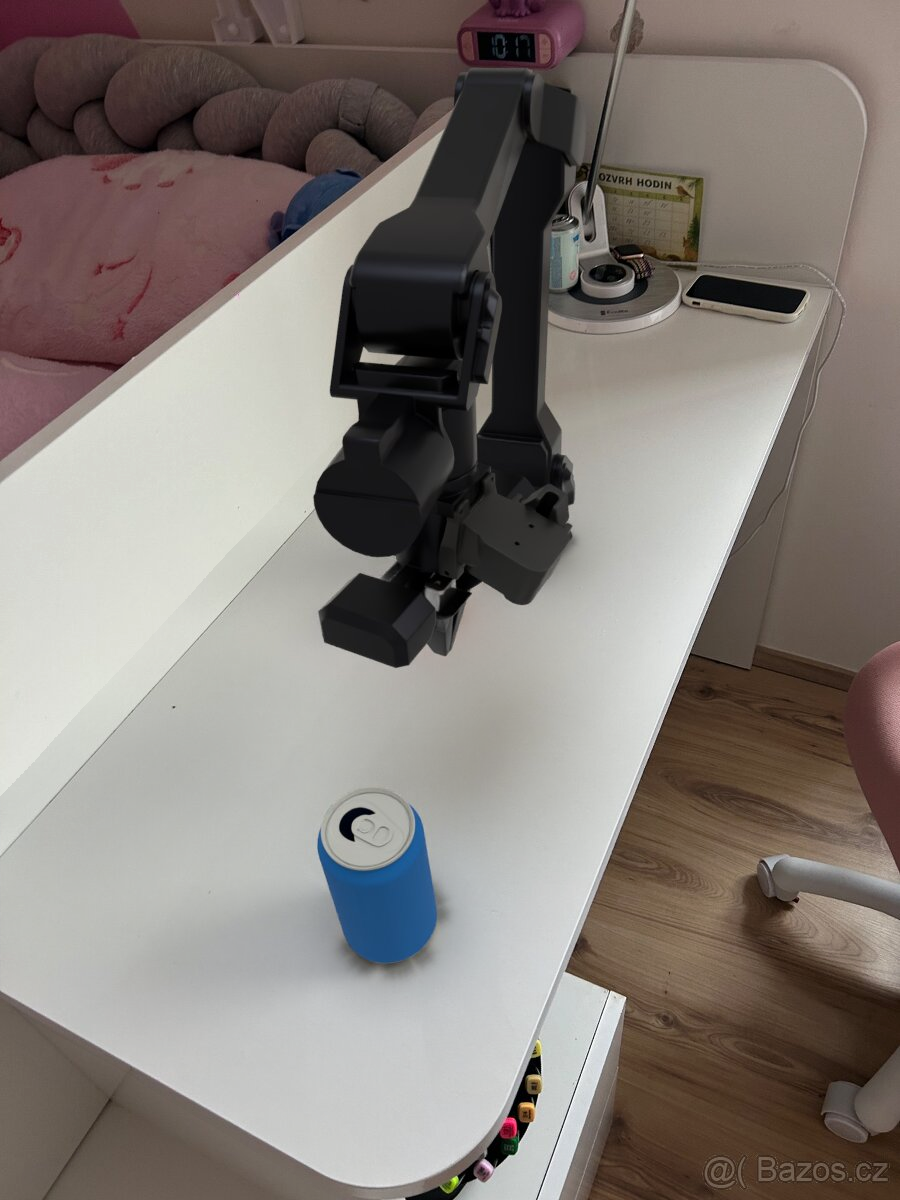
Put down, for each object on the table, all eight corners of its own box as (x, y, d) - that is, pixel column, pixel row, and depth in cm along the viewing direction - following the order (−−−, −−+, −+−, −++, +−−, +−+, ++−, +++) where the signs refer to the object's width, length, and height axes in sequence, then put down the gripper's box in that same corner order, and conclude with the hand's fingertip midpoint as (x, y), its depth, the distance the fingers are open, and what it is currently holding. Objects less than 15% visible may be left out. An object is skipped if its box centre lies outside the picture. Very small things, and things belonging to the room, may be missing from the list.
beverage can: (377, 864, 66) (354, 765, 58) (455, 904, 64) (442, 806, 55) (324, 940, 62) (291, 846, 54) (405, 986, 60) (383, 894, 52)
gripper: (477, 581, 46) (483, 784, 56) (613, 418, 59) (598, 608, 68) (296, 526, 51) (331, 724, 60) (459, 386, 63) (466, 568, 73)
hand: (442, 651), depth 65 cm, fingers closed
